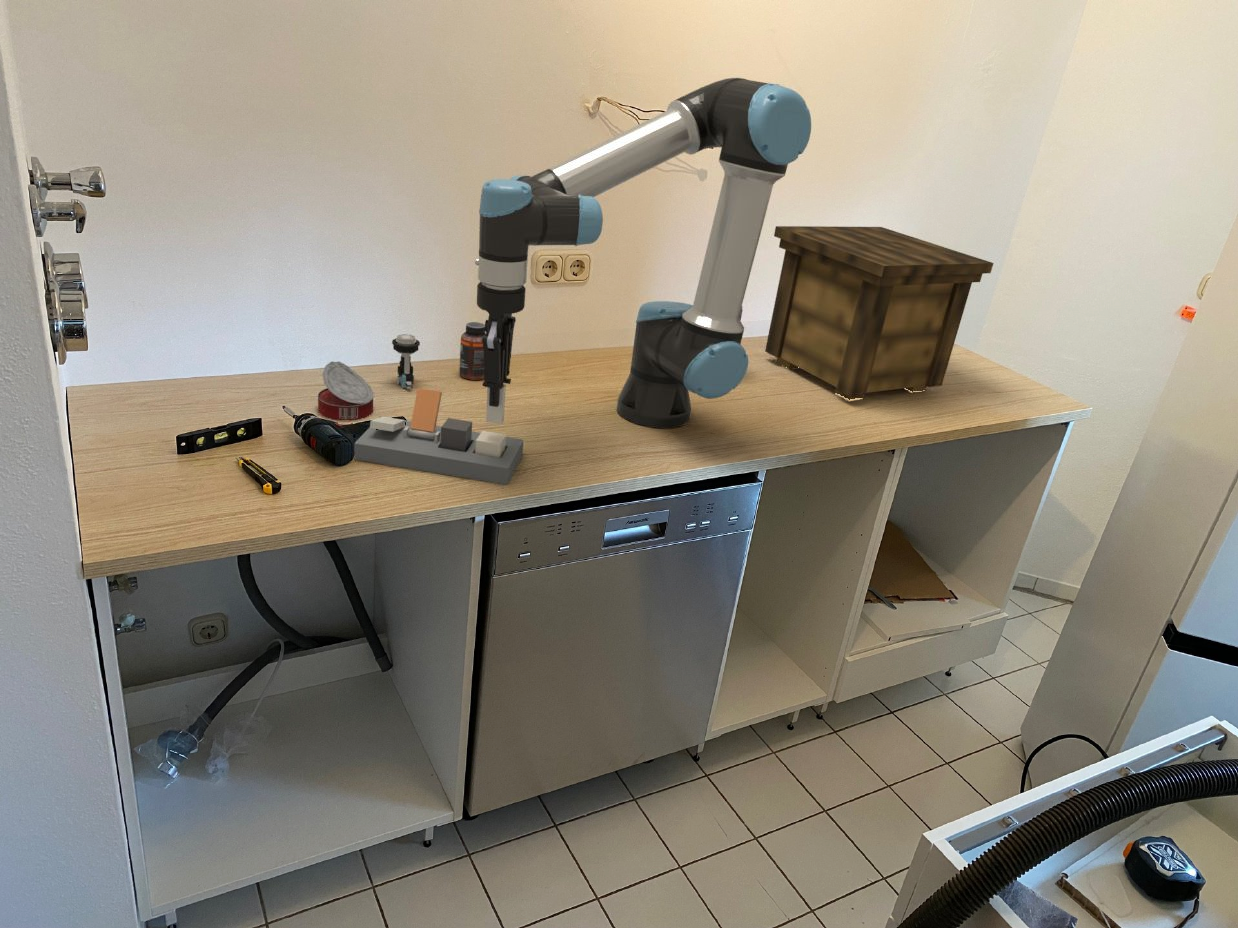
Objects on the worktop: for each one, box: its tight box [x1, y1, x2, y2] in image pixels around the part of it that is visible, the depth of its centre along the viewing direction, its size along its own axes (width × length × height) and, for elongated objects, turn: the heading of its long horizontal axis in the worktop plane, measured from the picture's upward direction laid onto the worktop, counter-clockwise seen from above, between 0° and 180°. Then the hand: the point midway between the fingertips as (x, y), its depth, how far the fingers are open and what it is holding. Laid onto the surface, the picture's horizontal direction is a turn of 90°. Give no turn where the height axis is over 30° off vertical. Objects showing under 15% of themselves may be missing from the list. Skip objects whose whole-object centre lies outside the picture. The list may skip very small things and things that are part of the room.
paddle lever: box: [408, 387, 443, 439], centre depth 155 cm, size 4×1×8 cm, turn 84°
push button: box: [391, 333, 421, 390], centre depth 181 cm, size 7×5×10 cm
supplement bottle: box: [458, 321, 486, 381], centre depth 190 cm, size 6×6×11 cm
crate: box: [764, 225, 994, 400], centre depth 216 cm, size 35×35×33 cm
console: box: [353, 416, 525, 485], centre depth 155 cm, size 26×12×4 cm, turn 83°
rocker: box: [369, 416, 406, 432], centre depth 155 cm, size 4×6×1 cm, turn 173°
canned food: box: [317, 360, 374, 422], centre depth 168 cm, size 11×10×10 cm
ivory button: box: [475, 430, 507, 458], centre depth 154 cm, size 4×4×4 cm
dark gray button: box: [440, 417, 473, 452], centre depth 154 cm, size 4×4×4 cm
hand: (495, 421), depth 152 cm, fingers closed
